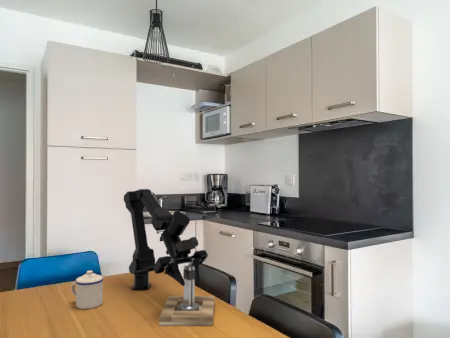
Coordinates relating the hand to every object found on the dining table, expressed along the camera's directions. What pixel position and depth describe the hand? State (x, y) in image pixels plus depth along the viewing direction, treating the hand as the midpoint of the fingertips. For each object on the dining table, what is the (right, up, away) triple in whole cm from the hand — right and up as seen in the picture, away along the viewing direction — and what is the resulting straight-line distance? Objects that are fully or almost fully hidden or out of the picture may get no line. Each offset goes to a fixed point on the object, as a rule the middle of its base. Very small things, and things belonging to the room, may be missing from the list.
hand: (191, 283), depth 111 cm
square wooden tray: (-1, -10, +1) cm, 10 cm away
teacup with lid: (-38, -11, +9) cm, 40 cm away
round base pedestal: (-1, -9, +1) cm, 9 cm away
